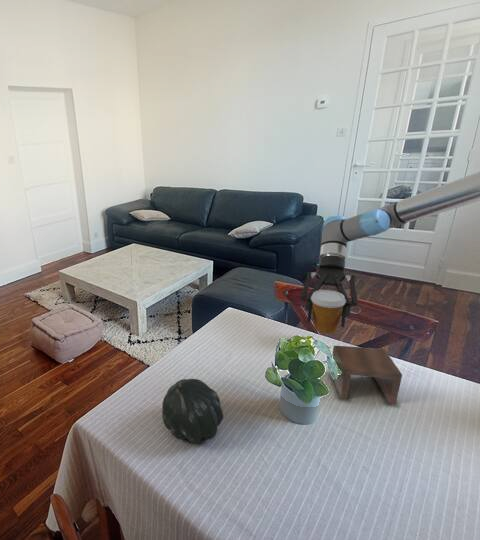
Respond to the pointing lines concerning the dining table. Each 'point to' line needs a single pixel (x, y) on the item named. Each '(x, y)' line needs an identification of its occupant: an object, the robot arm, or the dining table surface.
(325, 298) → the disposable coffee cup
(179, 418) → the squash
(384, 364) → the shelf
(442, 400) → the dining table surface
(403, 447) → the dining table surface
